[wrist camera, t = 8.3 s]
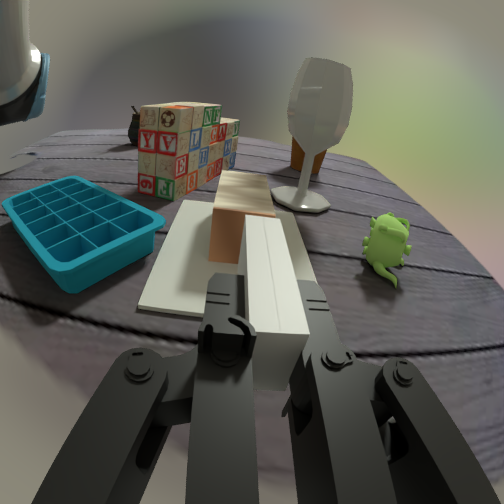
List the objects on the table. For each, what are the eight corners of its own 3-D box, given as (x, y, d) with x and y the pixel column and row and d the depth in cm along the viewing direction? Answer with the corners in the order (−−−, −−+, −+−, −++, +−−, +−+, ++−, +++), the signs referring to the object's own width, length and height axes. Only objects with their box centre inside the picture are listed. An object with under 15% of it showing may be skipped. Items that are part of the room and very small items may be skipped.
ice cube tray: (76, 194, 34) (74, 174, 33) (171, 249, 27) (172, 220, 25) (4, 223, 25) (0, 201, 24) (67, 308, 18) (57, 276, 16)
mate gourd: (162, 143, 65) (165, 104, 60) (144, 149, 59) (147, 106, 54) (139, 140, 66) (142, 103, 61) (121, 146, 60) (122, 105, 55)
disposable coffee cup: (334, 175, 61) (346, 123, 54) (307, 177, 55) (319, 118, 49) (302, 162, 66) (312, 114, 60) (274, 163, 61) (283, 109, 54)
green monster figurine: (395, 289, 26) (418, 240, 23) (350, 267, 29) (368, 217, 26) (403, 265, 31) (421, 222, 28) (364, 247, 33) (379, 203, 30)
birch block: (213, 208, 23) (222, 170, 32) (208, 260, 25) (217, 209, 34) (275, 215, 23) (265, 175, 32) (265, 267, 26) (258, 214, 35)
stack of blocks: (205, 161, 55) (212, 100, 49) (234, 167, 54) (243, 104, 47) (136, 193, 37) (139, 104, 31) (174, 202, 36) (181, 106, 30)
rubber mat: (138, 308, 19) (137, 304, 19) (183, 202, 36) (184, 199, 36) (328, 326, 21) (329, 322, 21) (292, 215, 37) (292, 212, 37)
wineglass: (339, 212, 41) (372, 74, 30) (293, 217, 37) (326, 55, 26) (304, 190, 47) (329, 68, 36) (259, 191, 43) (283, 54, 32)
